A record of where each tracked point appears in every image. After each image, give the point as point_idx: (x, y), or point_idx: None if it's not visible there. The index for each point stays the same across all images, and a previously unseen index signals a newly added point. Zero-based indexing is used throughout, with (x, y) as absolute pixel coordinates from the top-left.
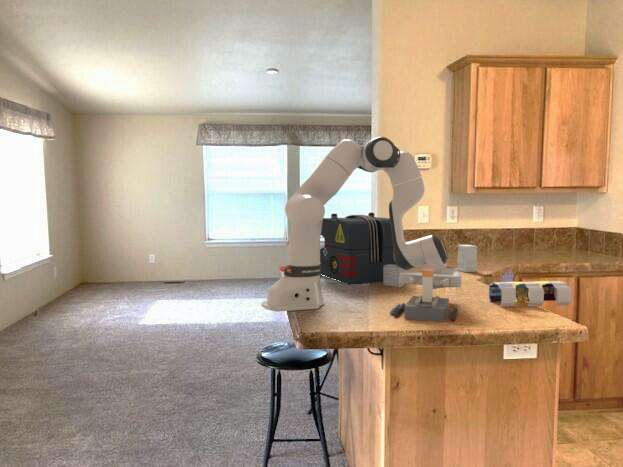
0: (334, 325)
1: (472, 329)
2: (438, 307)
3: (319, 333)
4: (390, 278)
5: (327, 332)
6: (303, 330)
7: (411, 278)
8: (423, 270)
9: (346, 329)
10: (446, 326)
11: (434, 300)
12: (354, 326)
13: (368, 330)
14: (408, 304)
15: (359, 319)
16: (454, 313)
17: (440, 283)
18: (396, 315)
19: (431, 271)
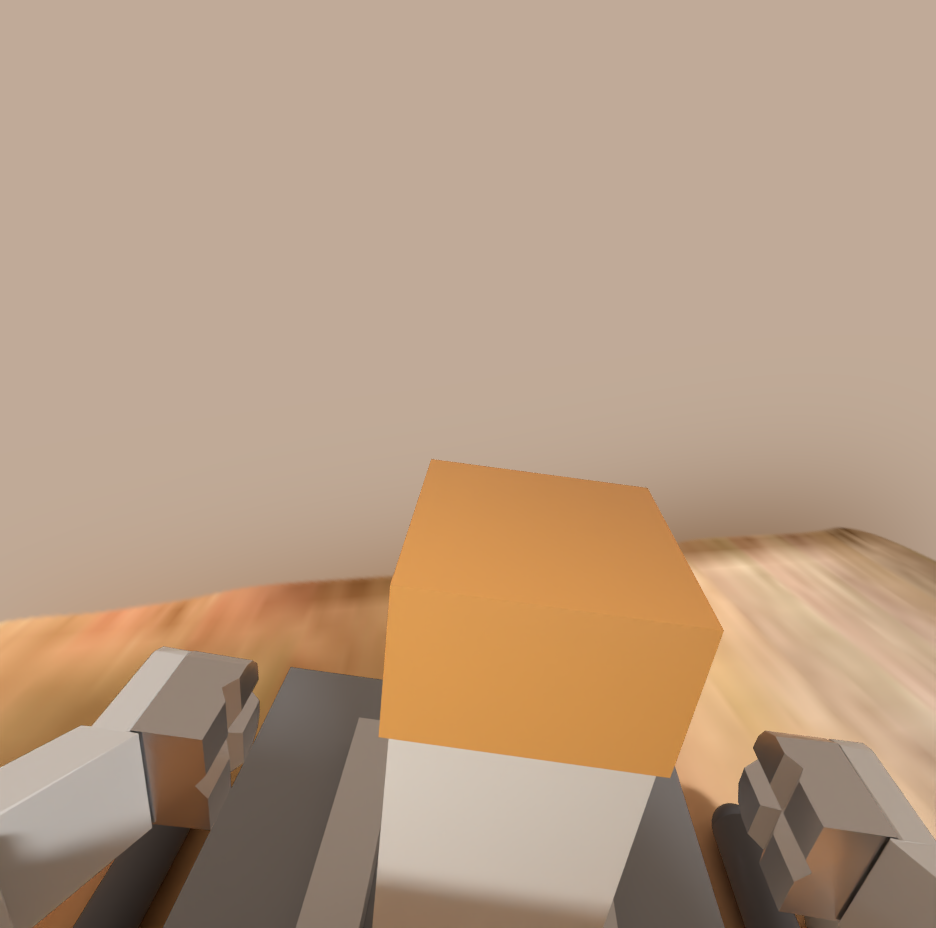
0: (889, 609)
1: (140, 623)
2: (331, 713)
3: (829, 533)
4: None
5: (816, 541)
6: (913, 551)
7: (897, 798)
8: (619, 484)
9: (788, 571)
10: (300, 658)
11: (350, 881)
12: (796, 605)
13: (695, 568)
14: (654, 788)
15: (901, 724)
16: (98, 905)
17: (250, 685)
18: (715, 814)
19: (448, 473)
